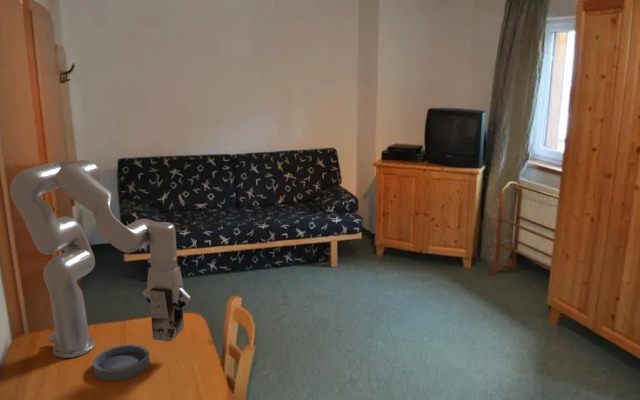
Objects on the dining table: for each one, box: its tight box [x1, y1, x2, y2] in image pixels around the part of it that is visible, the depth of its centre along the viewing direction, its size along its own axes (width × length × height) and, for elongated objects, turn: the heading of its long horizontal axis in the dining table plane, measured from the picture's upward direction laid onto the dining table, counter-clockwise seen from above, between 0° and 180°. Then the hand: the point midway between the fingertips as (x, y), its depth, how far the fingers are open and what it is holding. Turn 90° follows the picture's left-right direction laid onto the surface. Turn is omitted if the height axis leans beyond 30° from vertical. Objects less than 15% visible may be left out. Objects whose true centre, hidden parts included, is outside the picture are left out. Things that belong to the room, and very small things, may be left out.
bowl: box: [92, 343, 151, 382], centre depth 172 cm, size 16×16×3 cm
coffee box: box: [150, 288, 185, 343], centre depth 172 cm, size 9×6×16 cm
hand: (167, 318), depth 173 cm, fingers closed on coffee box, 6 cm apart
